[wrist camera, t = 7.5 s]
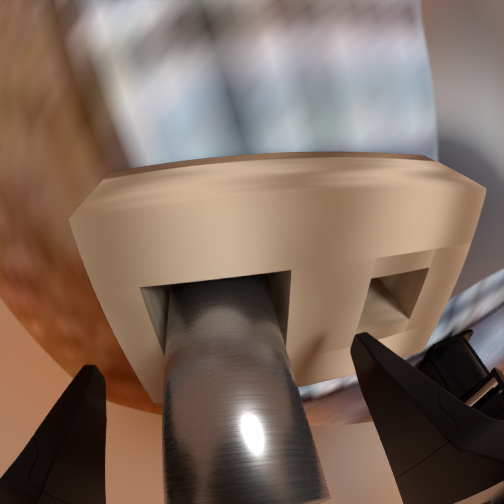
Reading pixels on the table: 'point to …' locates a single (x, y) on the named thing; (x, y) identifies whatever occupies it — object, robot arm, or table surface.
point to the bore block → (282, 248)
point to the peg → (233, 401)
